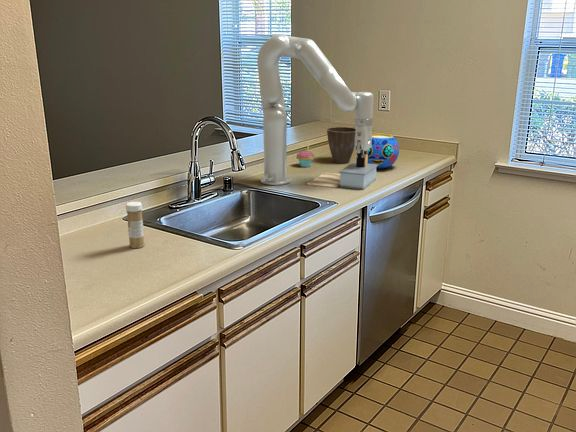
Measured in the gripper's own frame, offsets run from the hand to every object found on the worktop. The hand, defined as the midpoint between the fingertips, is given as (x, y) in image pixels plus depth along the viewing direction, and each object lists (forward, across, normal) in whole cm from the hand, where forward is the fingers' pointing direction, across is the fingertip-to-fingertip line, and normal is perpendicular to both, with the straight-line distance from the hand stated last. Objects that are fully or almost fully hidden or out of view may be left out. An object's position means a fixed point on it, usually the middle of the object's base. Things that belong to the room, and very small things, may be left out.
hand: (361, 165), depth 251 cm
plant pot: (+7, +32, +20) cm, 38 cm away
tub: (+7, -4, 0) cm, 8 cm away
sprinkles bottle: (+7, -103, +38) cm, 110 cm away
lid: (+1, -4, 0) cm, 4 cm away
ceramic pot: (+7, +28, 0) cm, 29 cm away
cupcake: (+7, +17, +33) cm, 38 cm away
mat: (+7, -4, +12) cm, 15 cm away
